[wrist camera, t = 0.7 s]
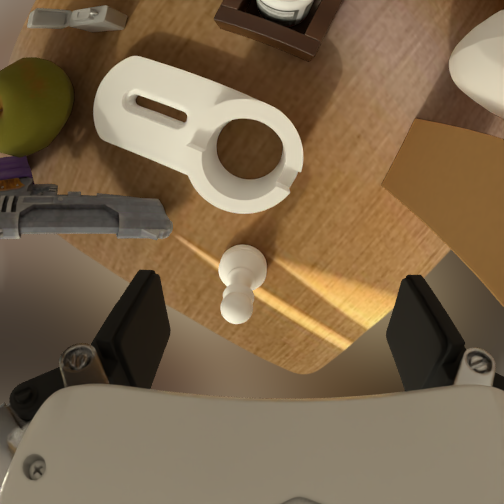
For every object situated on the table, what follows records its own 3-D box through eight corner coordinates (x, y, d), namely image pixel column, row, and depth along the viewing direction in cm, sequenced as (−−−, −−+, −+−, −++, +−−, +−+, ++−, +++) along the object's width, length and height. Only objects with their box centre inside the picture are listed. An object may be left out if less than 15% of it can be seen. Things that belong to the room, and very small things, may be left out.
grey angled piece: (127, 14, 22) (87, -5, 14) (124, 29, 22) (82, 14, 15) (72, 21, 21) (26, 10, 14) (69, 35, 22) (22, 27, 15)
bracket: (311, 126, 27) (323, 132, 21) (270, 204, 30) (270, 231, 24) (123, 52, 24) (89, 43, 18) (95, 130, 27) (58, 139, 21)
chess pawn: (218, 243, 33) (202, 292, 25) (267, 243, 32) (265, 293, 24) (222, 283, 35) (208, 338, 27) (267, 284, 34) (265, 339, 26)
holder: (257, -41, 19) (255, -56, 16) (343, -8, 20) (352, -20, 17) (219, 28, 23) (213, 19, 19) (309, 62, 24) (314, 56, 21)
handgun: (146, 179, 39) (171, 252, 30) (-11, 176, 27) (-46, 254, 17) (152, 156, 37) (179, 223, 28) (-11, 152, 25) (-53, 223, 16)
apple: (79, 152, 28) (12, 179, 19) (21, 137, 27) (-44, 160, 18) (99, 62, 24) (30, 56, 14) (36, 58, 23) (-32, 59, 13)
